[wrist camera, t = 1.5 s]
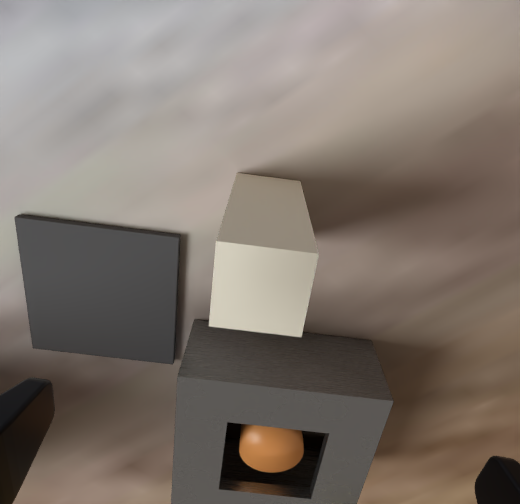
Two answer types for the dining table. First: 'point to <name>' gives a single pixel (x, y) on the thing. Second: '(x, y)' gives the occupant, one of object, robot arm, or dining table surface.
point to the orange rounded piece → (270, 447)
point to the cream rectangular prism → (264, 258)
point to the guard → (276, 415)
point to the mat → (100, 288)
